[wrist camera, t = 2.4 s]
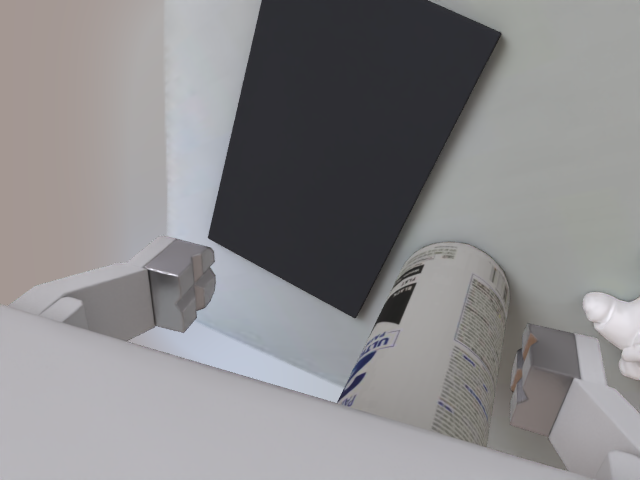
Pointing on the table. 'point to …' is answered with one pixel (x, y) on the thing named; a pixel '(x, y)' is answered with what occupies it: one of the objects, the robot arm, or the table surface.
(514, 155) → the table surface
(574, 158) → the table surface
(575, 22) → the table surface
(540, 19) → the table surface
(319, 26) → the mat
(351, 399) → the spray can
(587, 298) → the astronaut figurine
